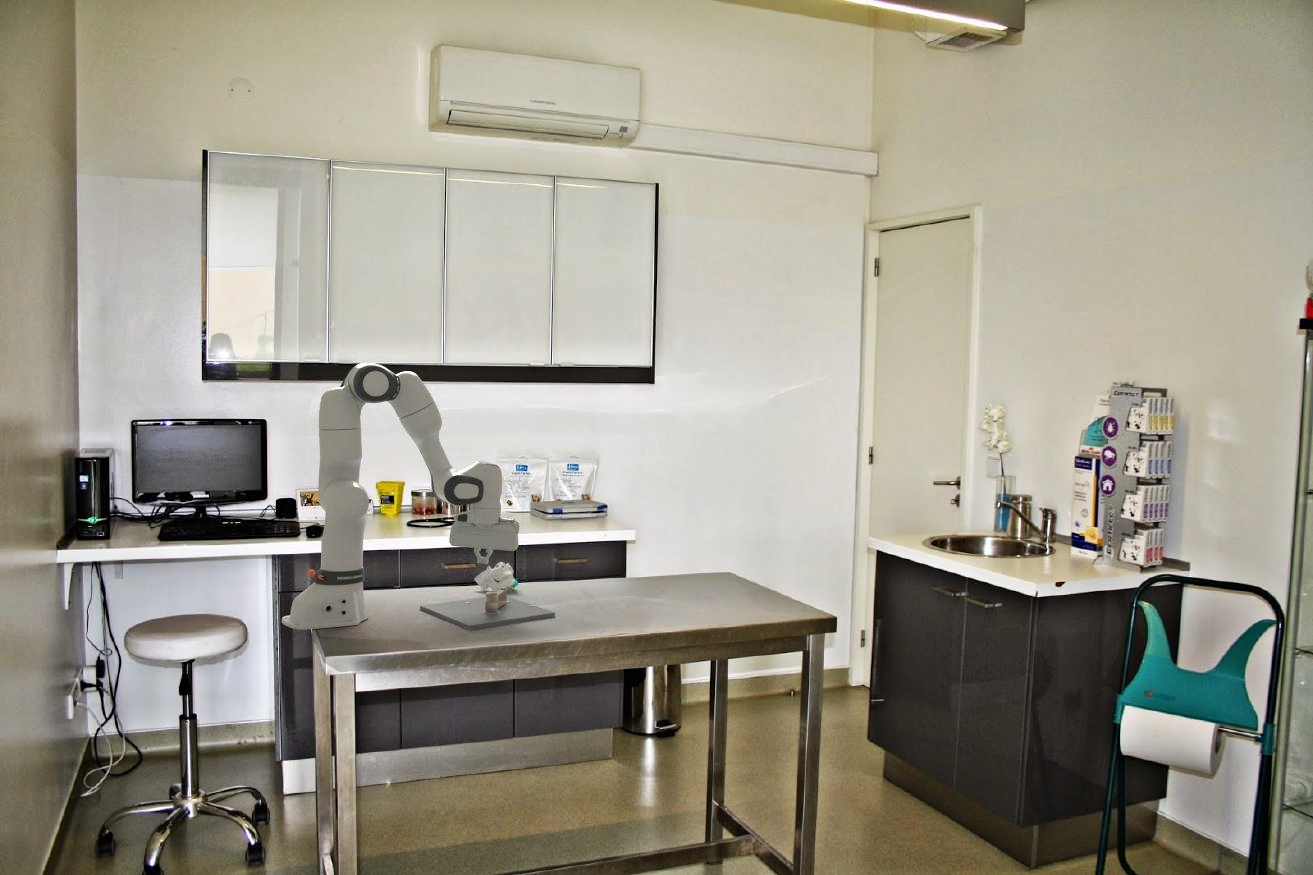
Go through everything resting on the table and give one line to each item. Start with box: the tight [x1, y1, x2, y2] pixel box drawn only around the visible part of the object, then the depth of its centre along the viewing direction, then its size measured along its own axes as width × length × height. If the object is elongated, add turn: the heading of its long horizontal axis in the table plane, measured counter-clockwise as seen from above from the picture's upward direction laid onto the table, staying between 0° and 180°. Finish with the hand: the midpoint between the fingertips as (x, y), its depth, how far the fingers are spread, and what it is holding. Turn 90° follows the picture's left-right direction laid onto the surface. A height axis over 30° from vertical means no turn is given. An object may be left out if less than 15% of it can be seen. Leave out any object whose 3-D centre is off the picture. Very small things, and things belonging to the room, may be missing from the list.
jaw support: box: [474, 561, 519, 592], centre depth 321 cm, size 12×9×10 cm
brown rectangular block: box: [484, 587, 508, 613], centre depth 290 cm, size 4×14×5 cm, turn 172°
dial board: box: [419, 596, 556, 631], centre depth 289 cm, size 28×28×1 cm
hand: (482, 563), depth 294 cm, fingers closed
